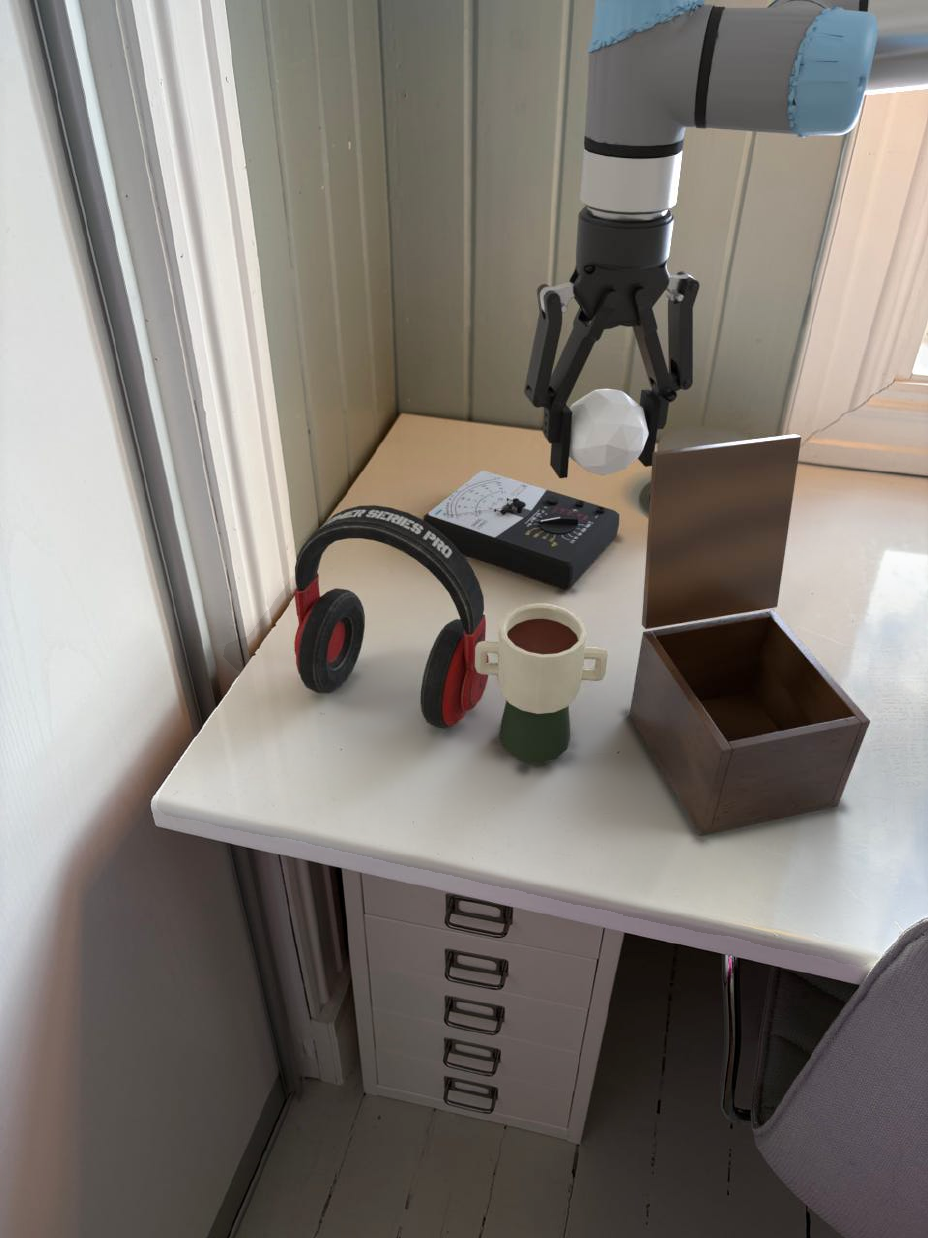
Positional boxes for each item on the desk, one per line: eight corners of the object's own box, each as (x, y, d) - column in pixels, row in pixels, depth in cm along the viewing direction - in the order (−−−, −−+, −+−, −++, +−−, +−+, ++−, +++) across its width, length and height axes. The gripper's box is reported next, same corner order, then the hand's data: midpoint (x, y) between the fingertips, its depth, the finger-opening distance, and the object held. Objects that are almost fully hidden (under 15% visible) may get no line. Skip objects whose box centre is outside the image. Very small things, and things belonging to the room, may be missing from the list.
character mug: (594, 719, 85) (608, 606, 77) (596, 776, 80) (613, 661, 72) (476, 711, 86) (478, 599, 78) (470, 768, 80) (472, 653, 72)
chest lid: (801, 436, 74) (795, 433, 75) (657, 454, 72) (652, 451, 72) (777, 607, 82) (772, 603, 82) (645, 629, 79) (641, 625, 80)
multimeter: (568, 593, 101) (572, 555, 98) (421, 541, 109) (420, 504, 105) (618, 537, 110) (623, 501, 106) (479, 493, 117) (479, 458, 114)
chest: (838, 806, 77) (871, 721, 71) (700, 836, 75) (722, 750, 69) (751, 691, 88) (773, 609, 82) (629, 714, 86) (642, 631, 80)
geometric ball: (587, 483, 91) (592, 401, 91) (661, 479, 85) (666, 392, 85) (542, 471, 85) (547, 384, 85) (618, 466, 80) (623, 373, 80)
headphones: (498, 688, 88) (506, 507, 76) (459, 759, 81) (461, 571, 69) (335, 643, 94) (318, 467, 81) (284, 706, 86) (257, 522, 74)
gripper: (722, 188, 78) (684, 434, 92) (488, 204, 74) (484, 460, 88) (768, 210, 73) (719, 470, 86) (516, 230, 68) (508, 499, 82)
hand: (601, 465), depth 87 cm, fingers closed on geometric ball, 8 cm apart
